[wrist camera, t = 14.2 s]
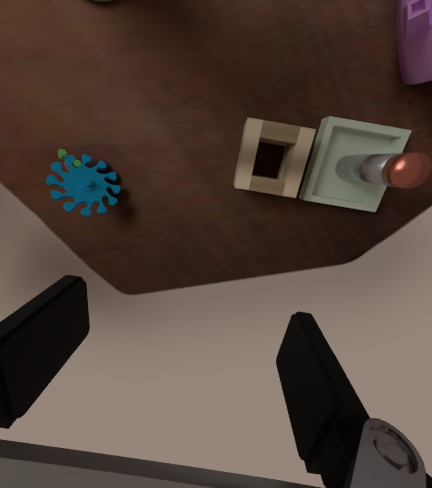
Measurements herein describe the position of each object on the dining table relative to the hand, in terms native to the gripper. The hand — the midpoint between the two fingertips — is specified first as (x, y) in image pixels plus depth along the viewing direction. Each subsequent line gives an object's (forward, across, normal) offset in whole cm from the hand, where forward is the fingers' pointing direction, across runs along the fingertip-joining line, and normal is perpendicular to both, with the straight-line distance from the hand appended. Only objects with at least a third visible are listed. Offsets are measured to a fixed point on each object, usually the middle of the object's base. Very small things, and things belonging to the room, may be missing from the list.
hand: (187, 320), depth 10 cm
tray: (+30, -20, -9) cm, 37 cm away
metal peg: (+30, -20, -9) cm, 37 cm away
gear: (+31, +21, 0) cm, 37 cm away
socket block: (+30, -7, -8) cm, 32 cm away
